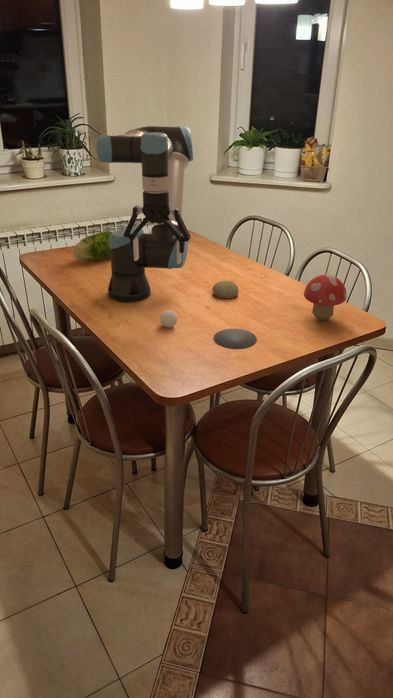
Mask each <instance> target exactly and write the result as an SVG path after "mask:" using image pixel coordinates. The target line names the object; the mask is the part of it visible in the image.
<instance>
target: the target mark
mask: <svg viewBox="0 0 393 698" xmlns="http://www.w3.org/2000/svg"><path fill="white" fill-rule="evenodd" d="M257 340H258V338H257V335H256V334H255V333H253V332H251V331H249V330H246V329H242V328H227V329H225V328H224V329H222V330H219V331H217V332H216V333H214V335H213V341H214V342H215V343H216V344H217V345H219V346H221V347H223V348H227V349H232V350H234V349H235V350H239V349H247V348H250V347H252V346H254V345H255V344H256V343H257Z"/></svg>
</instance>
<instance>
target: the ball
mask: <svg viewBox="0 0 393 698" xmlns="http://www.w3.org/2000/svg"><path fill="white" fill-rule="evenodd" d="M159 322H160V324H161V325H162V326H164V327H165V328H172V327H174V326H175V325H176V324H177V323H178V315H177V313H176V312H175V311H174V310H172V309H166V310H164V311H162V312H161V313H160V316H159Z"/></svg>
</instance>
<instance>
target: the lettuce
mask: <svg viewBox="0 0 393 698" xmlns="http://www.w3.org/2000/svg"><path fill="white" fill-rule="evenodd" d="M112 233H113V231H111V230H109V231H107V230H106V231H101V232H97V233H95V234H90V235H88V236H86V237H83V238H82V239H81V240H80V241H78V242H77V243H76V244H75V245H74V246H73V248H72V254H73V256H74V258H76V260H79V261H80V260H81V261H87V262H97V261H98V262H99V261H105V259H106V260H110V259H111V257H110V248H109V246H110V236H111V234H112ZM109 258H110V259H109Z"/></svg>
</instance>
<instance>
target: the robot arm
mask: <svg viewBox="0 0 393 698" xmlns="http://www.w3.org/2000/svg"><path fill="white" fill-rule="evenodd" d="M192 138H193V137H192V131H191V129H190V128H189V127H187V126H180V125H177V126H153V125H151V126H150V125H147V126H141V127H137V128H134V129H130V130H128V131H126V132H125V133H124V134H123V133H122V134H119V135H108V134H107V135H99V136H98V137H97V140H96V143H95V144H96V146H95V147H96V148H95V149H96V155H97V160H98V161H99V162H100V163H108V164H111V163H112V164H115V163H117V164H118V163H120V164H122V163H123V164H126V163H127V164H141V180H142V181H141V182H142V189H143V191H142V206H139V205H137V204H135V206H134V207H133V208H132V215H131V217H130V219H129V221H128V224H127V226H126V227H125V228H121V229H118V230H115V231H114V232H113V231H112V232H113V233H112V234H111V236H110V246H109V248H110V257H111V258H110V267H111V275H110V280H109V284H108V286H107V293H108V294H107V295H108V297H109V299H111V300H113V301H116V302H120V303H121V302H123V303H134V302H139V301H143V300H146V299H147V298H149V297H150V296H151V286H150V283H149V280H148V278H147V276H146V272H145V271H146V268H147V269H169V270H172V269H182V268H183V267H184V266H185V264H186V260H187V256H188V251H189V250H188V249H189V241H190V240H191V238H192V237H191V235H190V232H189V230H188V229H187V226H186V225H185V222H184V220H183V218H182V210H183V197H184V196H183V195H184V177H185V170H186V169H187V168H188V167H189V165H190V162H193V161H194V153H193V151H194V150H193V140H192ZM141 213H142V214H143V216H144V218H143V220H142V221H141V222H140V223H139V224H138V225H137V226H136V227H134V226H135V224H136V220H137V219H138V216H139V215H140V214H141ZM148 222H149V223H150V224H154V225H153V226H152V227H151V229H150V230H151V231H150V233H149V232H148V233H145V232H144V229H143V228H144V227H146V224H147V223H148Z"/></svg>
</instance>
